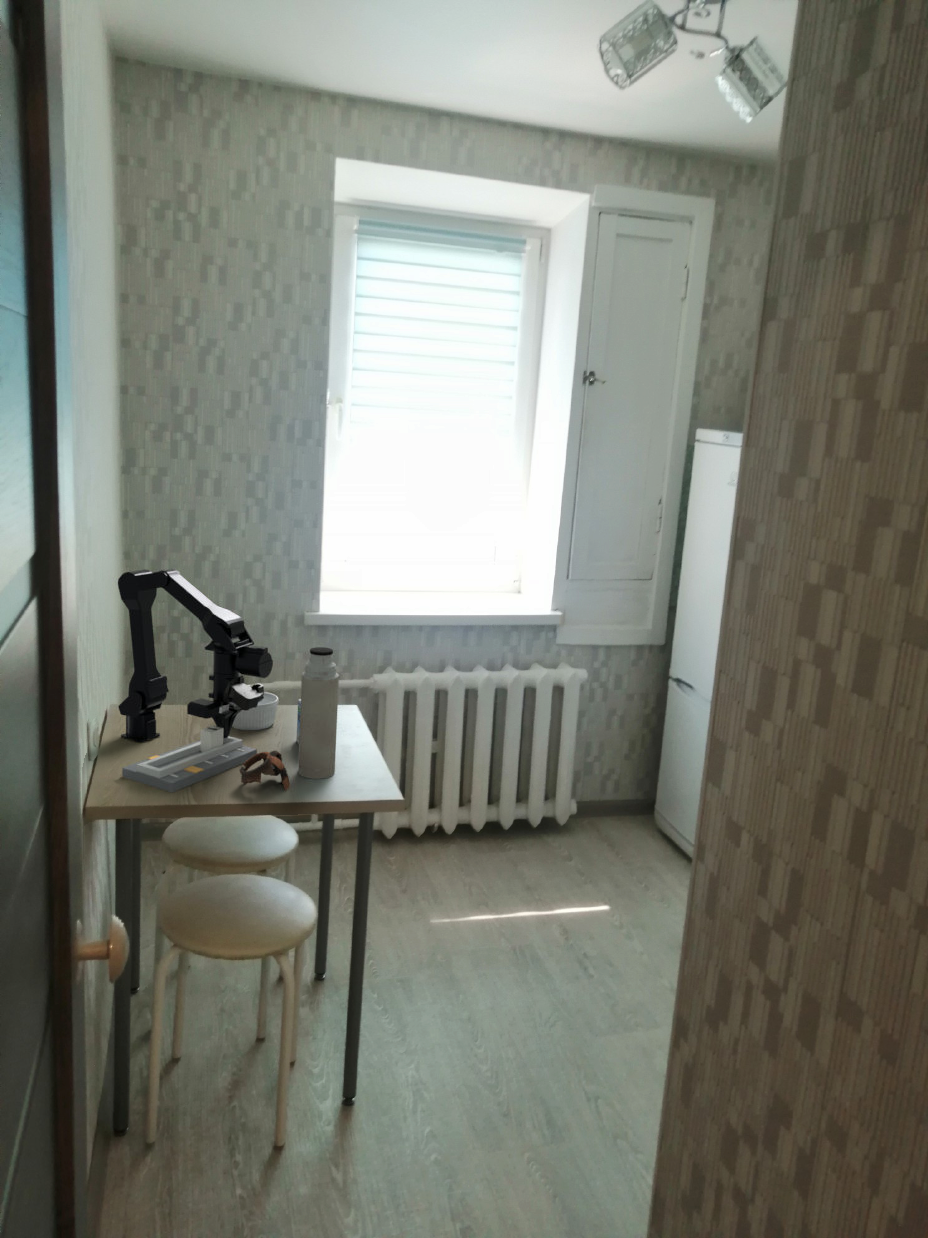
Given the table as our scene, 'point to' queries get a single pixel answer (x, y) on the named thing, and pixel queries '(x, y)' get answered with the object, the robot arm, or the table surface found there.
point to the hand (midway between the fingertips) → (224, 737)
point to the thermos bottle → (318, 715)
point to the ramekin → (258, 714)
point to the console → (188, 764)
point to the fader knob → (211, 738)
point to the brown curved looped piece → (265, 768)
